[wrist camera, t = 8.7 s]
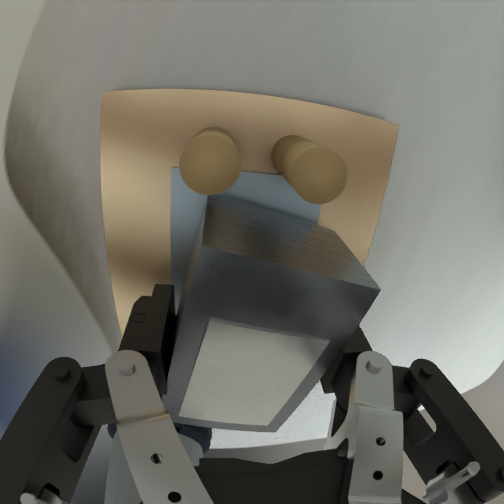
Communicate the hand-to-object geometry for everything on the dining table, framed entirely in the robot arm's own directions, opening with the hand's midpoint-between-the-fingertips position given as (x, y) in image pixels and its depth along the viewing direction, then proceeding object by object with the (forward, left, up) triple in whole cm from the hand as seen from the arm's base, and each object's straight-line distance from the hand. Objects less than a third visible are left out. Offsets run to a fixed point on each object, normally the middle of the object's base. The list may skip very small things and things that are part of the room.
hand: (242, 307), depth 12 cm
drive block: (0, 0, -1) cm, 1 cm away
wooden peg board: (0, 0, -3) cm, 3 cm away
